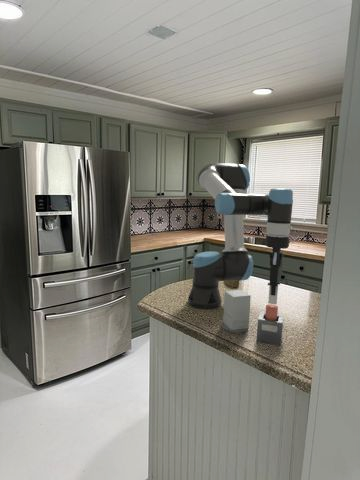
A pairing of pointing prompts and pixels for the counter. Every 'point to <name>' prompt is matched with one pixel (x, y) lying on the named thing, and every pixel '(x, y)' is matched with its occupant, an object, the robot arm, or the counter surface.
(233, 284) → the rock
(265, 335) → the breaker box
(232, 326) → the supplement box
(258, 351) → the counter surface
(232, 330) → the coaster
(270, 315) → the button
